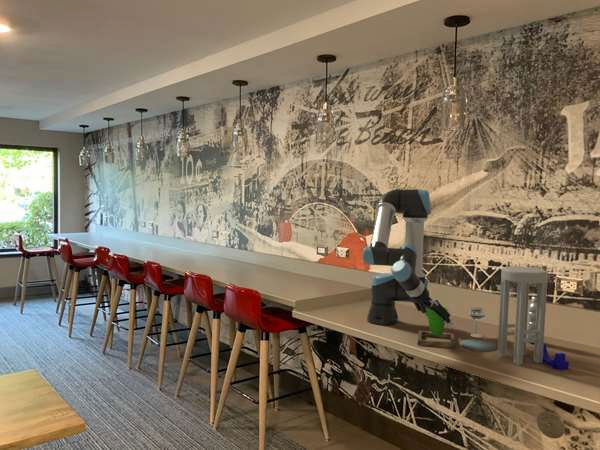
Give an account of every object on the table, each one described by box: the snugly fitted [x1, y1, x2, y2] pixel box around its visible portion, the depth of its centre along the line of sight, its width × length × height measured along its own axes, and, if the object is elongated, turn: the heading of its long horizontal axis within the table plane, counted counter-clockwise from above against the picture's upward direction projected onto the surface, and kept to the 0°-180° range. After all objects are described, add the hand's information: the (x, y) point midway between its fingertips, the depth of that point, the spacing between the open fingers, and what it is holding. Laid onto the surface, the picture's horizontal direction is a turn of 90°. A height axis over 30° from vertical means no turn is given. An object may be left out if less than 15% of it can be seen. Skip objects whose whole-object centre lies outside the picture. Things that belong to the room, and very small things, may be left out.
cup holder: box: [417, 329, 456, 349], centre depth 209 cm, size 15×15×2 cm
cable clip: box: [543, 343, 570, 371], centre depth 183 cm, size 12×4×6 cm, turn 10°
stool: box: [497, 265, 549, 366], centre depth 188 cm, size 16×16×35 cm
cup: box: [426, 305, 449, 335], centre depth 208 cm, size 9×9×11 cm
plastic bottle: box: [526, 295, 537, 344], centre depth 209 cm, size 6×7×20 cm
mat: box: [460, 339, 497, 352], centre depth 204 cm, size 14×14×1 cm
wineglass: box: [468, 306, 486, 338], centre depth 218 cm, size 7×7×12 cm
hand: (441, 323), depth 210 cm, fingers closed on cup, 9 cm apart
